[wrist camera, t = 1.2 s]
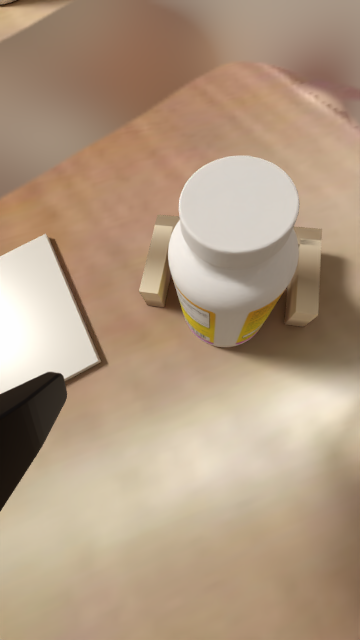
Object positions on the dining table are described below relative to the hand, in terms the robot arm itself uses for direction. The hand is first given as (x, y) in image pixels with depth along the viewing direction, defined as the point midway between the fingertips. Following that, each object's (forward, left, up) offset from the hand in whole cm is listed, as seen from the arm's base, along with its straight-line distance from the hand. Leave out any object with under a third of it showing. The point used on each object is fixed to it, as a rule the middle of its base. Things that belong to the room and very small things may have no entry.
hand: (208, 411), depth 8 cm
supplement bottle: (+6, -5, -14) cm, 16 cm away
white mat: (+14, +13, -13) cm, 24 cm away
